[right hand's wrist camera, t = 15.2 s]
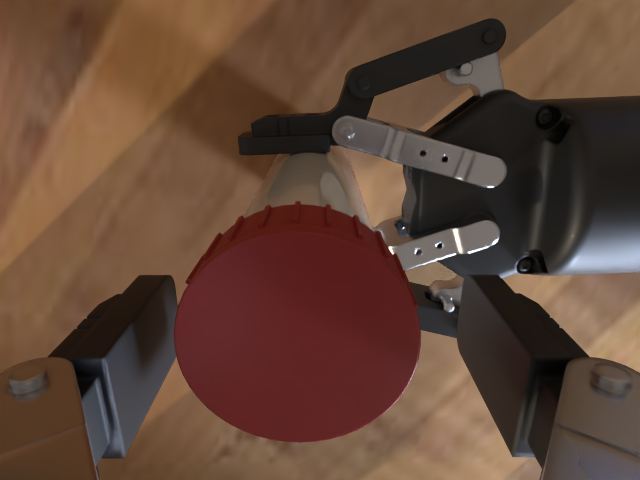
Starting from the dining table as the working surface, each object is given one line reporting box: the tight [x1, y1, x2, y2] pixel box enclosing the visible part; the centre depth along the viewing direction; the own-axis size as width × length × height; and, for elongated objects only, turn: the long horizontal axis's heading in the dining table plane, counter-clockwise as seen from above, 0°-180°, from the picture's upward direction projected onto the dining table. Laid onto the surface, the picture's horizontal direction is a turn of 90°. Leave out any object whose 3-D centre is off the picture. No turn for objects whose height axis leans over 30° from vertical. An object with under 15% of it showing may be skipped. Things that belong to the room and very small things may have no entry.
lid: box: [174, 201, 421, 442], centre depth 9 cm, size 5×5×2 cm
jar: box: [243, 146, 374, 232], centre depth 17 cm, size 4×4×17 cm
